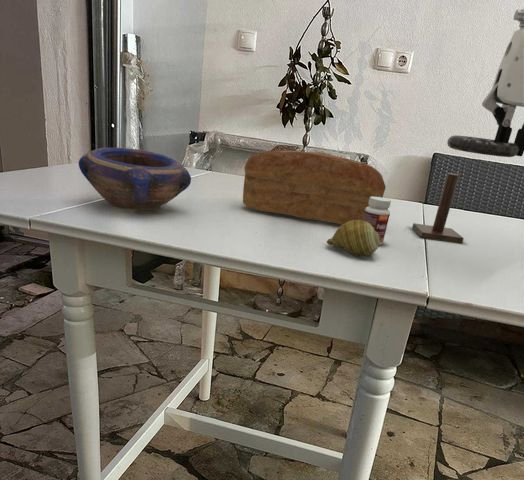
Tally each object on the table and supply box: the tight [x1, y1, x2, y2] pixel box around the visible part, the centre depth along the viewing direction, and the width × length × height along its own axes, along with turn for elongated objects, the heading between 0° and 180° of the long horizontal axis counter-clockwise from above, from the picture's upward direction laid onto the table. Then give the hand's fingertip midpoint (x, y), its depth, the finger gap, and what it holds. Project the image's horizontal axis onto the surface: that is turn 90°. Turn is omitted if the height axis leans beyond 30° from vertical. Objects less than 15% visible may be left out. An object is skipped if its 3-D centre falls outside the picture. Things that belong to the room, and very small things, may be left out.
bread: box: [242, 149, 386, 226], centre depth 111 cm, size 12×31×14 cm, turn 78°
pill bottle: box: [363, 197, 392, 246], centre depth 97 cm, size 5×5×8 cm
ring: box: [446, 134, 520, 158], centre depth 83 cm, size 11×11×2 cm
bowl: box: [78, 147, 192, 211], centre depth 98 cm, size 18×18×10 cm
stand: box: [411, 172, 464, 244], centre depth 110 cm, size 9×9×13 cm
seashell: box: [326, 220, 382, 258], centre depth 89 cm, size 10×7×8 cm
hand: (507, 153), depth 84 cm, fingers closed on ring, 2 cm apart
